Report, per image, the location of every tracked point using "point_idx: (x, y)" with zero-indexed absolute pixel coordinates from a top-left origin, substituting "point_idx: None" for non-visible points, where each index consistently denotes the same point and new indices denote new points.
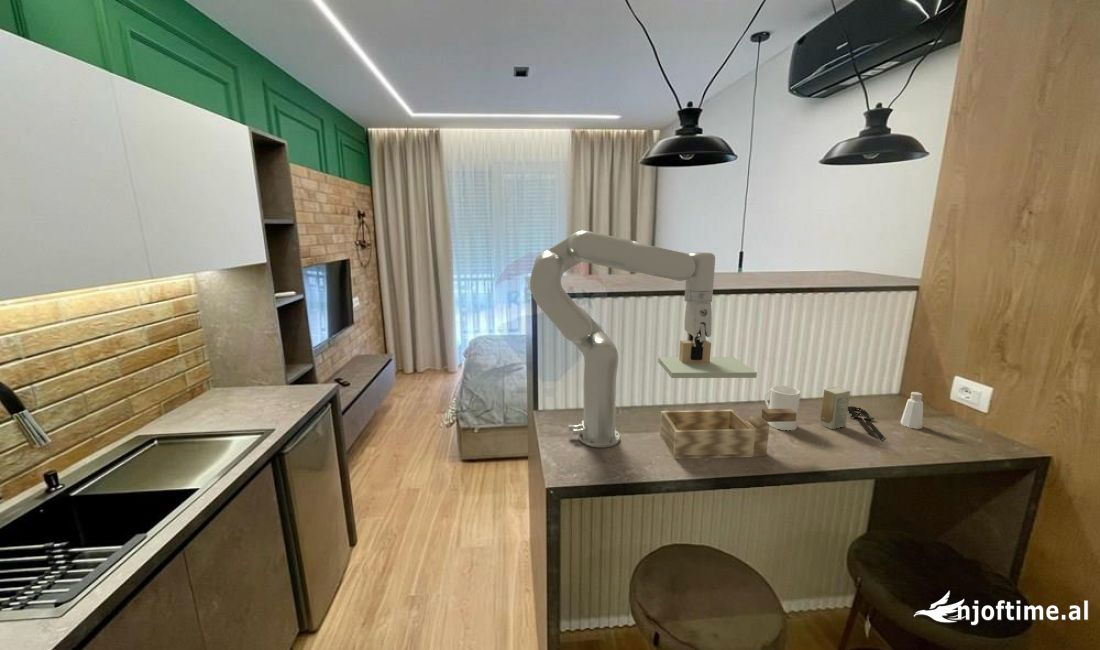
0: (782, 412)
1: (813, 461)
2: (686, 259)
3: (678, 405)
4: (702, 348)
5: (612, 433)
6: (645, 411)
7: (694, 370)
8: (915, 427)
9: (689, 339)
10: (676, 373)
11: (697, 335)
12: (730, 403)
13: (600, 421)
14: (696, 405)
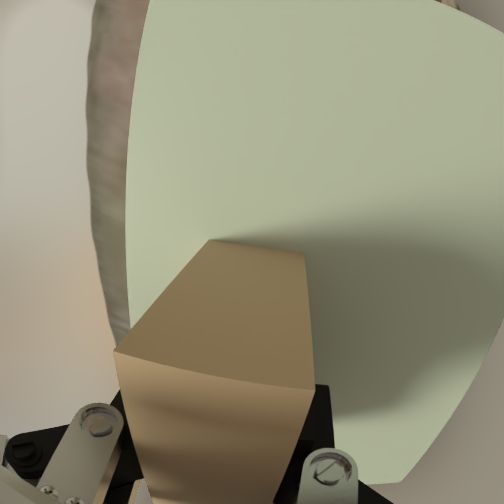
0: (437, 1)
1: None
2: None
3: (89, 166)
4: (313, 428)
5: None
6: (122, 269)
7: (424, 413)
8: None
9: (134, 496)
10: (408, 468)
11: (100, 501)
12: (97, 24)
13: None
14: (93, 115)
